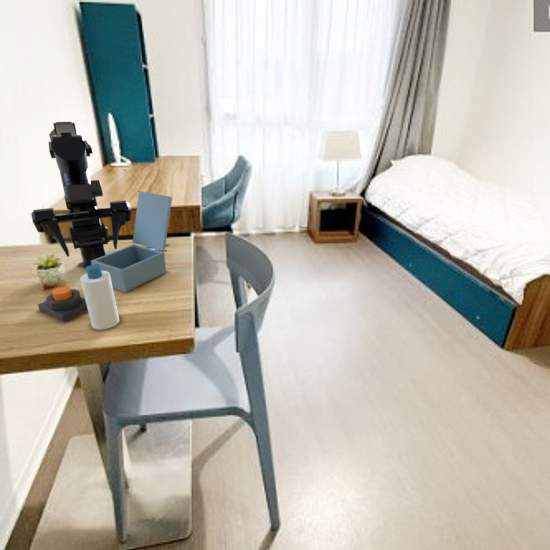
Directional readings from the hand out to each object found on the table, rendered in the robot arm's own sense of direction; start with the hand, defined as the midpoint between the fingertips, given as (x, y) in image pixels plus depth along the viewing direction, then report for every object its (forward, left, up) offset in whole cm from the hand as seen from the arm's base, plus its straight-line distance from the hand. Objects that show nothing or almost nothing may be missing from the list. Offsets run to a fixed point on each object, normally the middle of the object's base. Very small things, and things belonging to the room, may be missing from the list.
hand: (92, 252), depth 78 cm
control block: (-6, -5, -13) cm, 16 cm away
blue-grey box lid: (-7, +23, 0) cm, 24 cm away
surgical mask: (-19, +25, -14) cm, 35 cm away
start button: (-6, -5, -10) cm, 13 cm away
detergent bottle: (+6, -4, -13) cm, 15 cm away
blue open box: (-7, +14, -13) cm, 21 cm away
